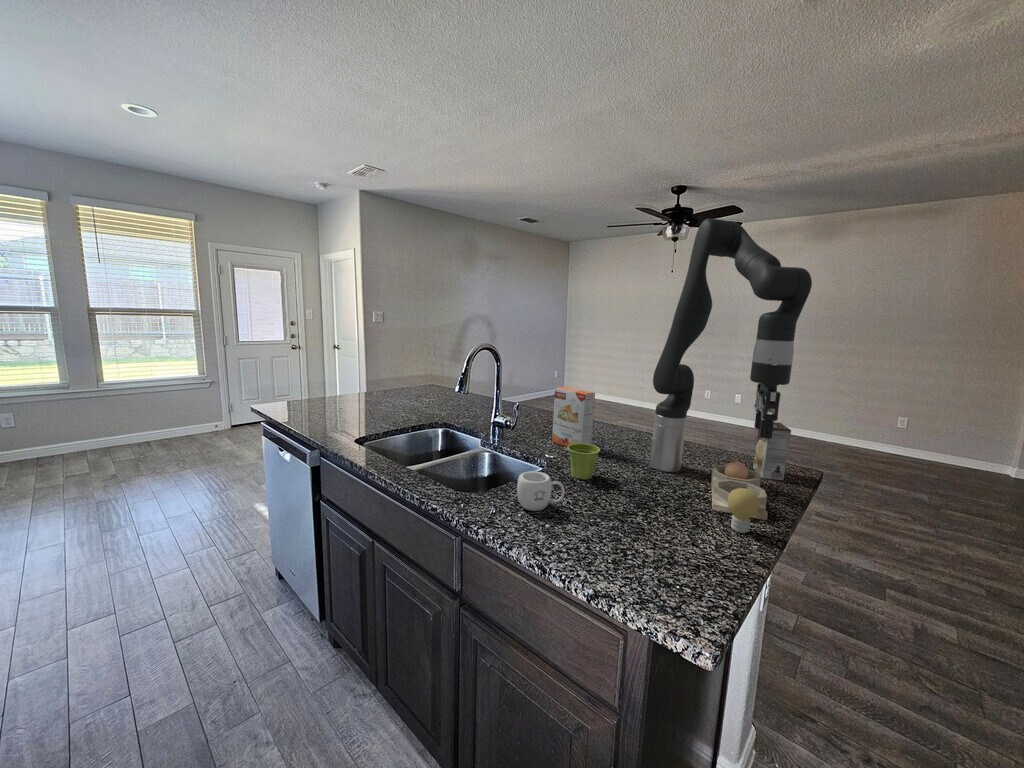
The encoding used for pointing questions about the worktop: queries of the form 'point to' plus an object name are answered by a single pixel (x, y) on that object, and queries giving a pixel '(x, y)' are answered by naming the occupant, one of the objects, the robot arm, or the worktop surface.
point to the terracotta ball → (736, 470)
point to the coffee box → (772, 453)
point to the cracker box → (573, 416)
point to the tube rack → (726, 484)
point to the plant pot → (582, 460)
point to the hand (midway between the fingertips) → (762, 433)
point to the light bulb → (742, 508)
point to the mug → (536, 490)
